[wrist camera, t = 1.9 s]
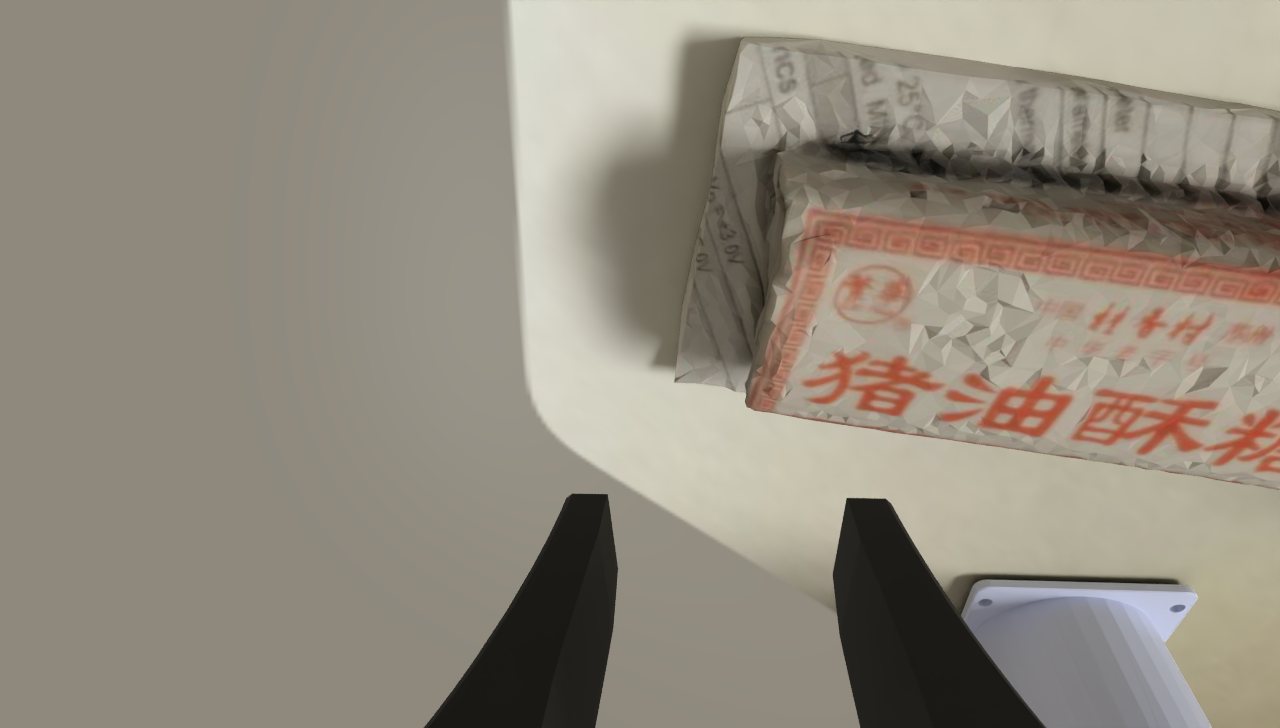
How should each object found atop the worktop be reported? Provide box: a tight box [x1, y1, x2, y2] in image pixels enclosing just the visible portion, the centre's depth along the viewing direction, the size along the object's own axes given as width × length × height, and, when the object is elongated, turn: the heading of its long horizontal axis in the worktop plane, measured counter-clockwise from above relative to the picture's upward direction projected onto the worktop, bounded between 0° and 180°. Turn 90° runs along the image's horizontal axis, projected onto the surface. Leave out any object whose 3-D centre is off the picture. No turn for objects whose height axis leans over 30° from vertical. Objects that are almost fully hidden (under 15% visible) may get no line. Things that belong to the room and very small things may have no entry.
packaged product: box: [674, 37, 1280, 490], centre depth 17 cm, size 18×5×10 cm
